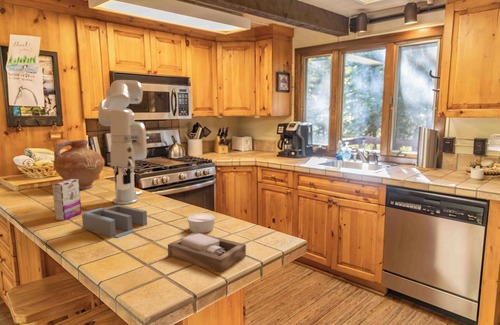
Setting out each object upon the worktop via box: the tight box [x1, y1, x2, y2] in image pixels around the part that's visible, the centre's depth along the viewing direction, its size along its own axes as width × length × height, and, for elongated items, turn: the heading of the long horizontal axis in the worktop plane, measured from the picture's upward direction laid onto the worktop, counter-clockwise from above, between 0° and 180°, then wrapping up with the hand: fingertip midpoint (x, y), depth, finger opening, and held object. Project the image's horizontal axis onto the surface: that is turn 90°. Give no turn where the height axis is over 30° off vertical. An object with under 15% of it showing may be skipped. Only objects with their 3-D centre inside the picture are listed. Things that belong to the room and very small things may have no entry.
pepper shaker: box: [116, 167, 130, 190], centre depth 140 cm, size 4×4×10 cm
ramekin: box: [187, 212, 216, 234], centre depth 137 cm, size 11×11×5 cm
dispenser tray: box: [167, 232, 247, 273], centre depth 112 cm, size 14×22×4 cm, turn 59°
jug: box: [53, 139, 105, 190], centre depth 206 cm, size 28×28×30 cm
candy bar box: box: [51, 179, 83, 221], centre depth 151 cm, size 11×5×16 cm, turn 168°
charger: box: [181, 233, 226, 256], centre depth 112 cm, size 5×9×15 cm
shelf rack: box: [81, 204, 148, 239], centre depth 139 cm, size 18×20×7 cm
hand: (123, 182), depth 140 cm, fingers closed on pepper shaker, 4 cm apart
